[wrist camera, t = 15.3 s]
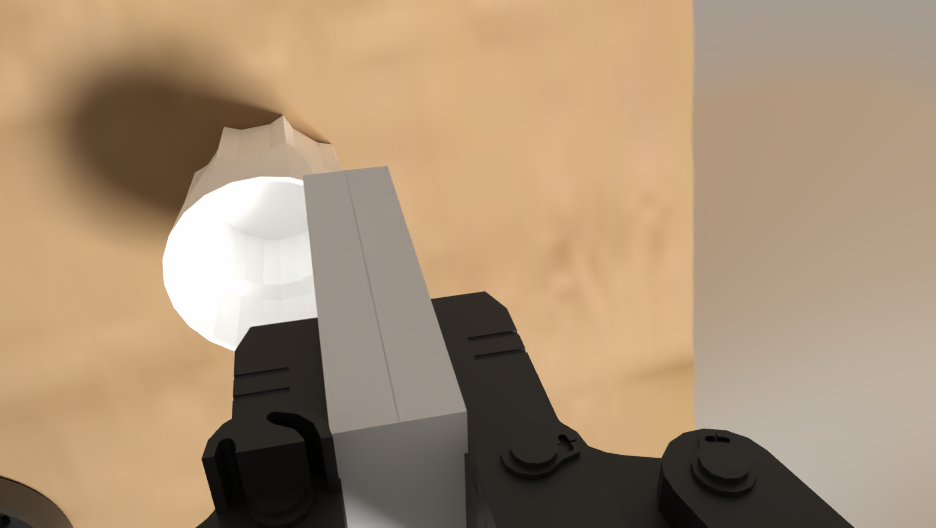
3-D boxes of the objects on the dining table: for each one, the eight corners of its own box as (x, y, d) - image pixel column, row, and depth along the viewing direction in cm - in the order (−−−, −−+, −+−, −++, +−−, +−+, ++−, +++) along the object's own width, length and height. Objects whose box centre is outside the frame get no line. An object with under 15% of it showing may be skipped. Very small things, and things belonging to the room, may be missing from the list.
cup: (372, 237, 50) (394, 329, 41) (211, 272, 48) (201, 374, 40) (338, 85, 44) (356, 156, 36) (156, 120, 43) (131, 203, 35)
